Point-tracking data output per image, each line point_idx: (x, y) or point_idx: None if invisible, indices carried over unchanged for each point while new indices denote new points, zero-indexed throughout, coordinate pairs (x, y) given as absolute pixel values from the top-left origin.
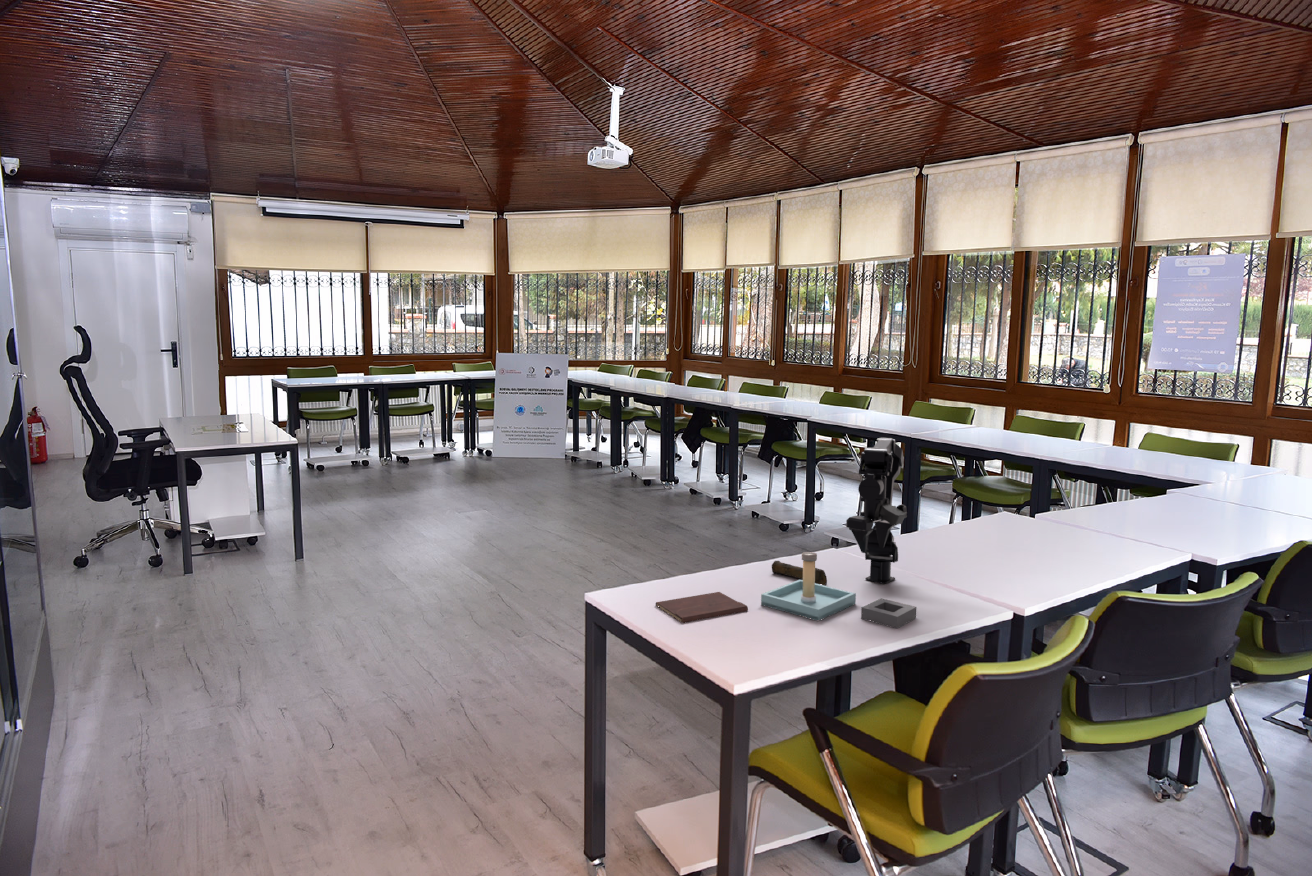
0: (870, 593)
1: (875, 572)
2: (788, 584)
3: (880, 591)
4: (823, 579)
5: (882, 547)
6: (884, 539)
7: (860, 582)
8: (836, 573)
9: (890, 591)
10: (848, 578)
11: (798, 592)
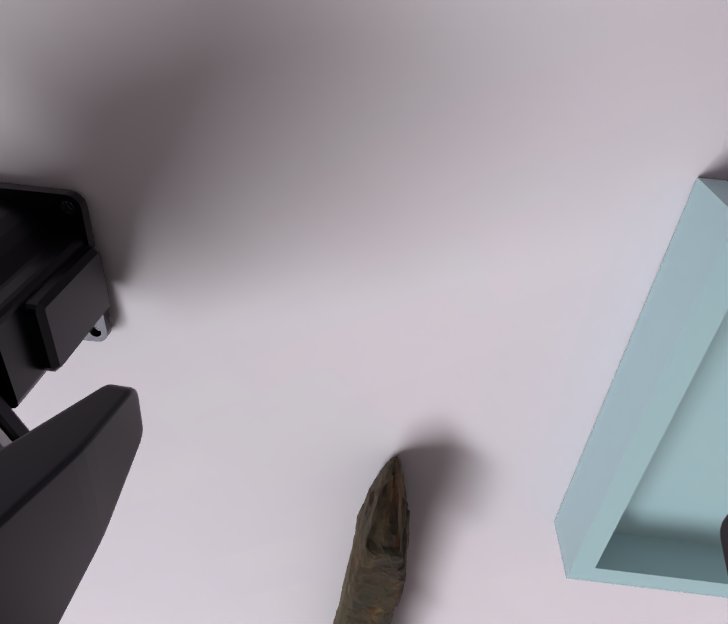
0: (359, 191)
1: (72, 304)
2: (702, 590)
3: (259, 148)
4: (400, 496)
5: (137, 397)
6: (26, 511)
7: (180, 336)
8: (142, 484)
9: (197, 79)
10: (168, 413)
11: (682, 513)
